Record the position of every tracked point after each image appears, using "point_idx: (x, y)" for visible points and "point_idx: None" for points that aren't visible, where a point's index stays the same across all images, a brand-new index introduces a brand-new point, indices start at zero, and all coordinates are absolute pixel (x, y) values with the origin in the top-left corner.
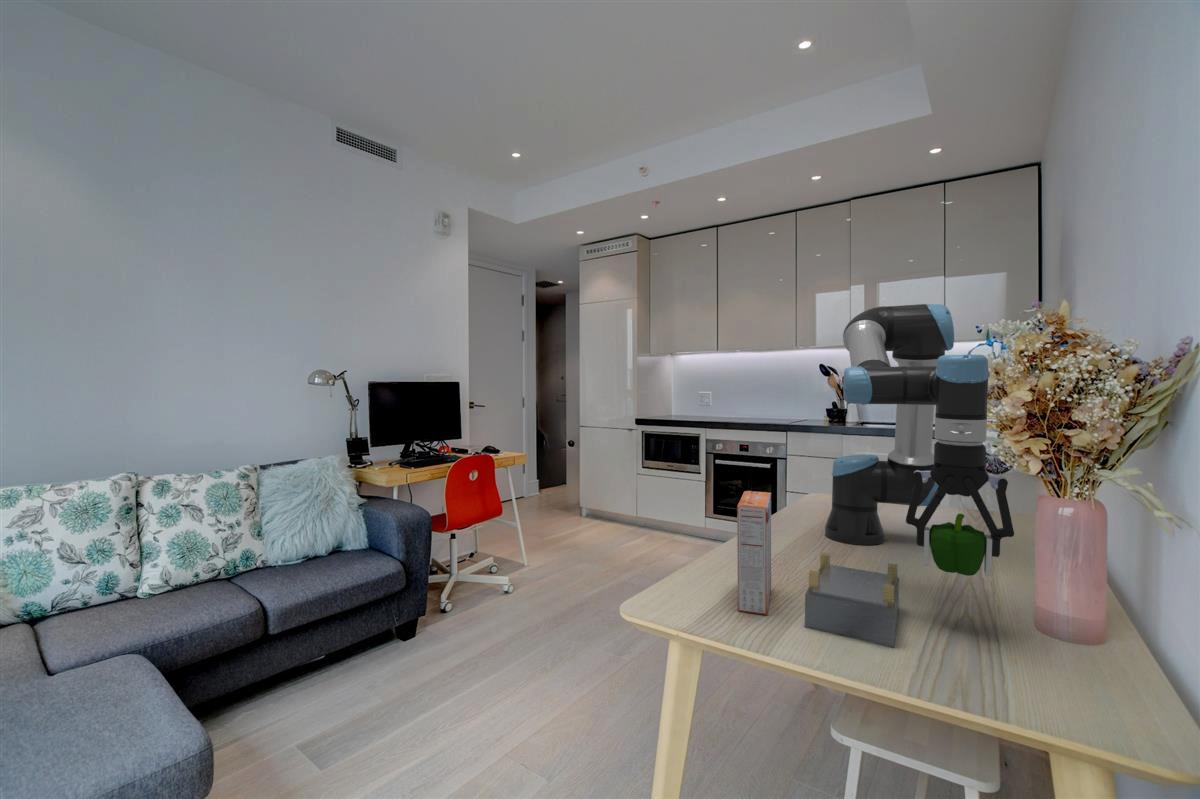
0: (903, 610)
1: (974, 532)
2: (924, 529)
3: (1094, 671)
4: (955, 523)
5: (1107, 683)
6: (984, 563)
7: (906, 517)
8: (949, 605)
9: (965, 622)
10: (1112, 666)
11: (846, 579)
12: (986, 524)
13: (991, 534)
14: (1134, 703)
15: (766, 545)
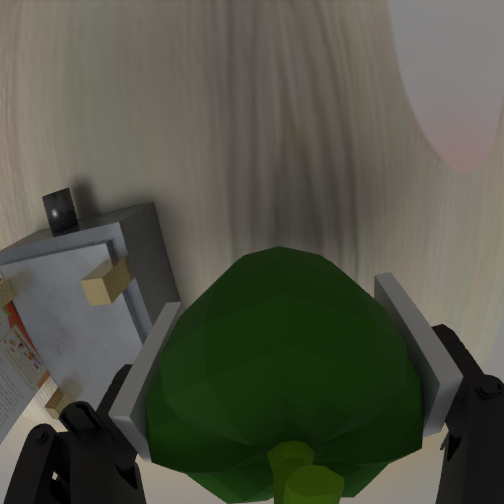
0: (165, 206)
1: (375, 464)
2: (136, 451)
3: (468, 268)
4: (276, 492)
5: (469, 297)
6: (384, 292)
7: (57, 476)
8: (245, 90)
9: (293, 182)
10: (491, 230)
11: (65, 341)
12: (439, 496)
13: (446, 447)
14: (474, 330)
15: (2, 440)
